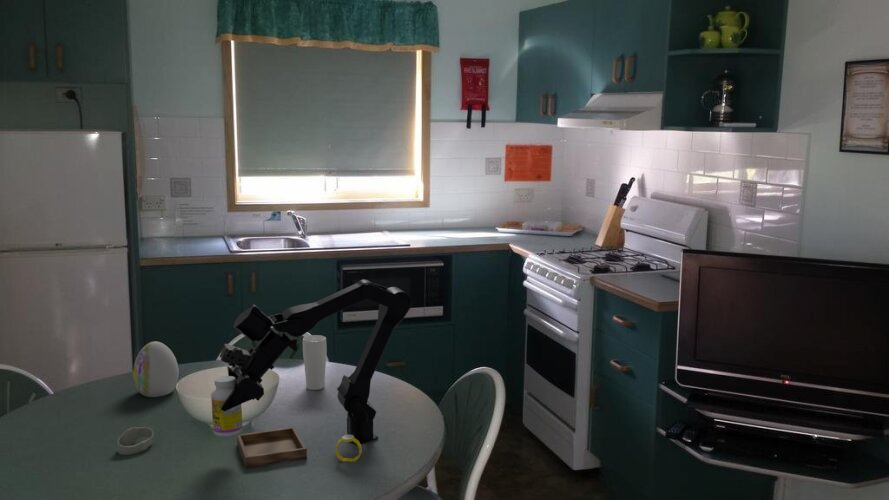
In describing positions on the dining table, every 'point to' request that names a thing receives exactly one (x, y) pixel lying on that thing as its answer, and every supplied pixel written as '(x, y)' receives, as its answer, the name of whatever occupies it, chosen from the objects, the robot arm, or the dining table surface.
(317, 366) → the drinking glass
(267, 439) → the walnut tray
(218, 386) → the supplement bottle
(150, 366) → the decorative egg
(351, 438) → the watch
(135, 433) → the grey hollow oval piece
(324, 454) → the dining table surface
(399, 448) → the dining table surface
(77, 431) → the dining table surface
